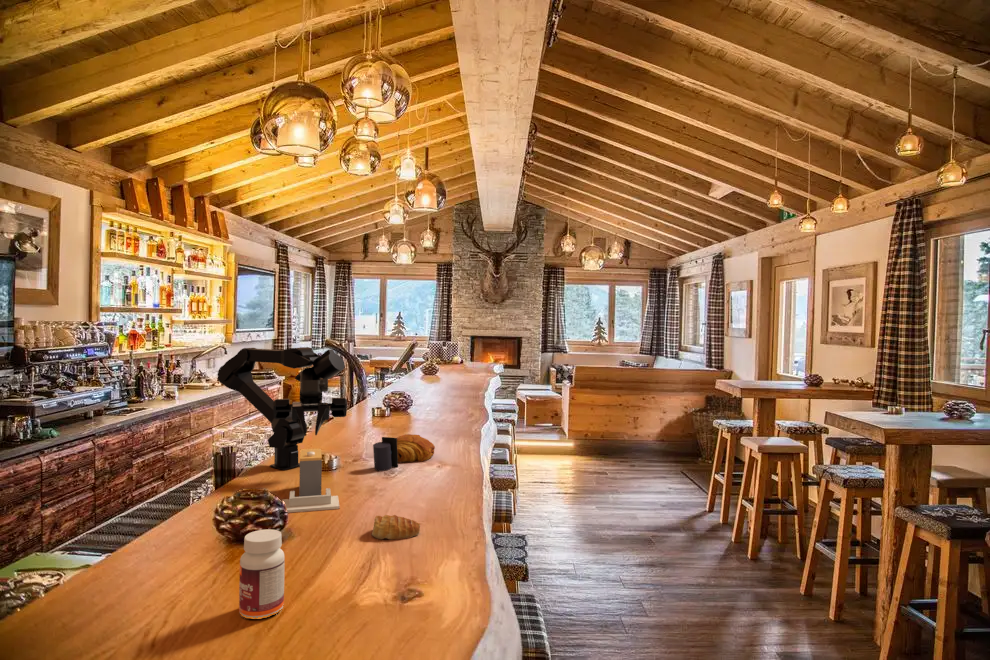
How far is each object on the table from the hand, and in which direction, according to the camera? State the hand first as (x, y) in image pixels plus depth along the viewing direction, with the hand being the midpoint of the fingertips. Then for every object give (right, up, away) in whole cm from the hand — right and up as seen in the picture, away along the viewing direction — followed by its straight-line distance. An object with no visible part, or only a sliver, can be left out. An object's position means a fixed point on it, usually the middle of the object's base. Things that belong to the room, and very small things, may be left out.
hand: (310, 434), depth 153 cm
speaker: (+16, -13, +16) cm, 26 cm away
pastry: (+27, -14, -34) cm, 46 cm away
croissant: (+22, -13, +30) cm, 39 cm away
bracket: (+5, -13, -18) cm, 23 cm away
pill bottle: (+13, -15, -66) cm, 68 cm away
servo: (+2, -13, -7) cm, 15 cm away
